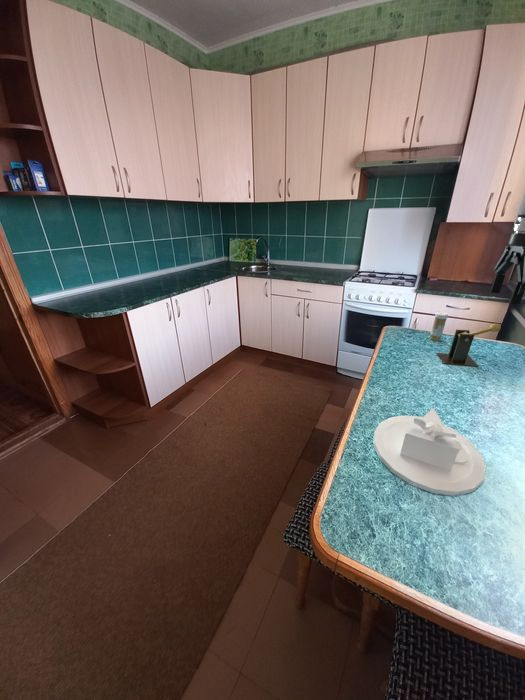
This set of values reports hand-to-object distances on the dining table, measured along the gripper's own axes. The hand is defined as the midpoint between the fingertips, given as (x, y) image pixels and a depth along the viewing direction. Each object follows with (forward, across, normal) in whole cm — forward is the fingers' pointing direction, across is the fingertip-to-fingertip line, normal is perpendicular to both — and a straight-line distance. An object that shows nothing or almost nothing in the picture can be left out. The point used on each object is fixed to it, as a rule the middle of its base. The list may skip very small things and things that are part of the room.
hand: (503, 298), depth 101 cm
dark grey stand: (+26, +1, -9) cm, 28 cm away
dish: (+26, +53, -32) cm, 67 cm away
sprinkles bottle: (+26, -19, -11) cm, 34 cm away
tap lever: (+14, +1, -4) cm, 15 cm away
